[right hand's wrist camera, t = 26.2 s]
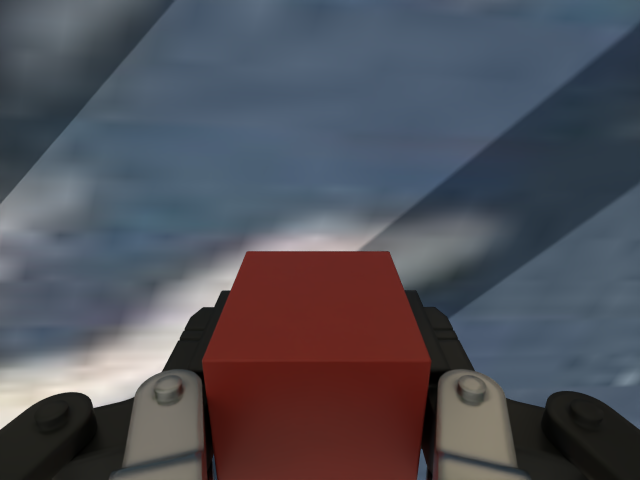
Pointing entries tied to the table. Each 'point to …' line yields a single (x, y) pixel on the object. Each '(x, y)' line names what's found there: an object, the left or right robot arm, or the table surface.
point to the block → (317, 370)
